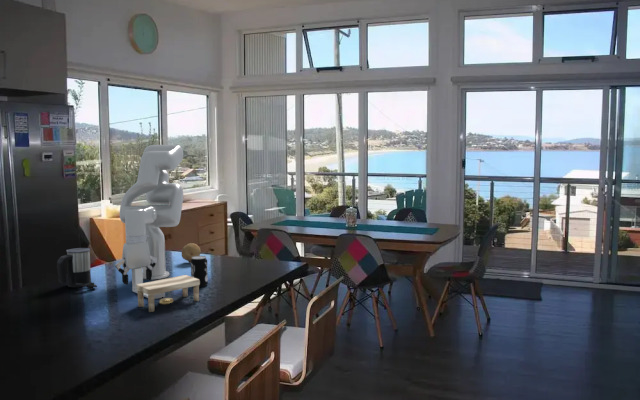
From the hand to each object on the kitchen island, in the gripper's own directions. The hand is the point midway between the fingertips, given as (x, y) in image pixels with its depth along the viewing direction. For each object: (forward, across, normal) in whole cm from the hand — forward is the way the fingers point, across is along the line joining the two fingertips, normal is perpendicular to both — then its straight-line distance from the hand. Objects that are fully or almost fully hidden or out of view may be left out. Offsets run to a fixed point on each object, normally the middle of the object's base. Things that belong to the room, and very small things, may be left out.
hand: (137, 281), depth 215 cm
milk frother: (+4, +14, -20) cm, 24 cm away
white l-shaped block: (+3, 0, +8) cm, 8 cm away
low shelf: (+3, 0, +25) cm, 25 cm away
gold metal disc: (+4, 0, +23) cm, 23 cm away
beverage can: (+4, -21, +12) cm, 24 cm away
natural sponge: (+4, -40, -26) cm, 48 cm away
